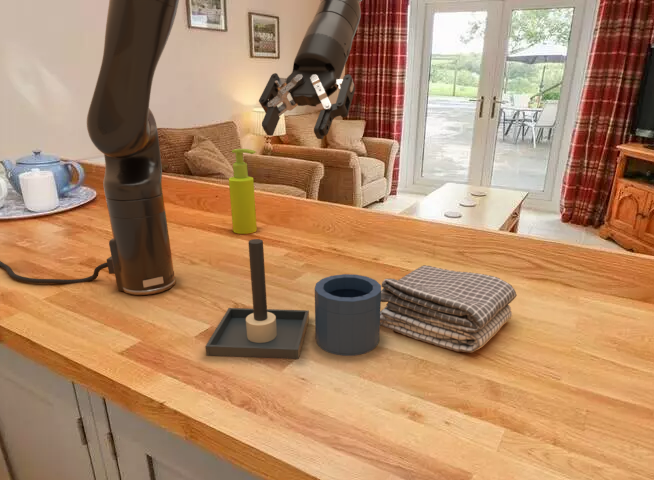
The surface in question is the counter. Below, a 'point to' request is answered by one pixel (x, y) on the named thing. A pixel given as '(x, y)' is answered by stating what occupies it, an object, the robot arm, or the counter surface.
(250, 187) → the soap dispenser
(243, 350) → the tray
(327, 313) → the dark gray pen holder
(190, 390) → the counter surface
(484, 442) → the counter surface
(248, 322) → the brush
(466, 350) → the towel
